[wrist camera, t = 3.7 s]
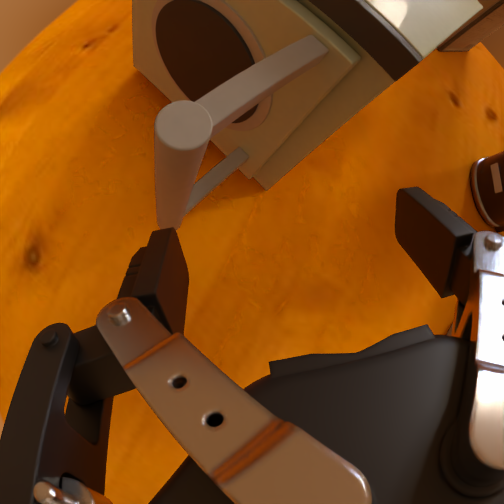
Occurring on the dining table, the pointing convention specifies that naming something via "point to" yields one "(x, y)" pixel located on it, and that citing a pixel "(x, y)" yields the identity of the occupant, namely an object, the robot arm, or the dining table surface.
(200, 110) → the washer door
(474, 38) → the food packaging
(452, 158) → the dining table surface
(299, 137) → the washer
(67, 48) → the dining table surface
